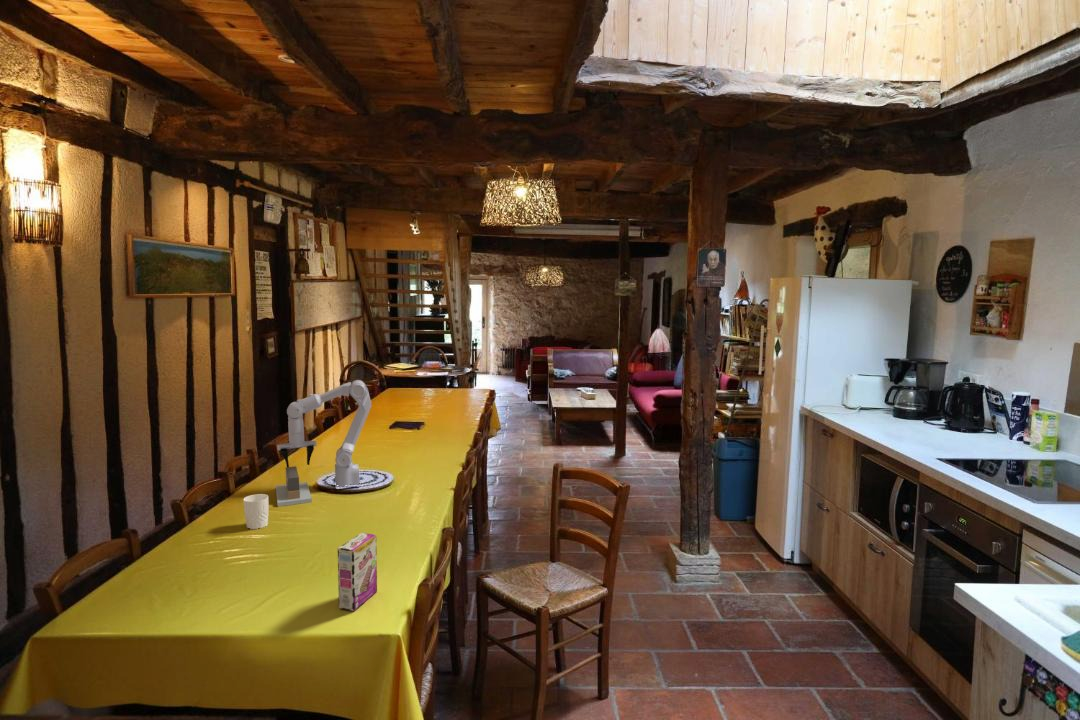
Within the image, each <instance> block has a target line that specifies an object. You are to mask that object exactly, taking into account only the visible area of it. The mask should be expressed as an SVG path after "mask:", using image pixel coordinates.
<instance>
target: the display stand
mask: <svg viewBox="0 0 1080 720" xmlns="http://www.w3.org/2000/svg"><path fill="white" fill-rule="evenodd" d="M285 482H286V481H285ZM275 495H276V502H277V503H276V505H277V507H278V506H280V507H287V506H292V505H301V504H302V505H303V504H308V503H312V500H313V499H312V496H311V492H310V488H309V483H308V481H304V482H299V490H296V491H288V488H287V482H286V483H284V484H279V485H275ZM286 505H287V506H286Z"/></svg>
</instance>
